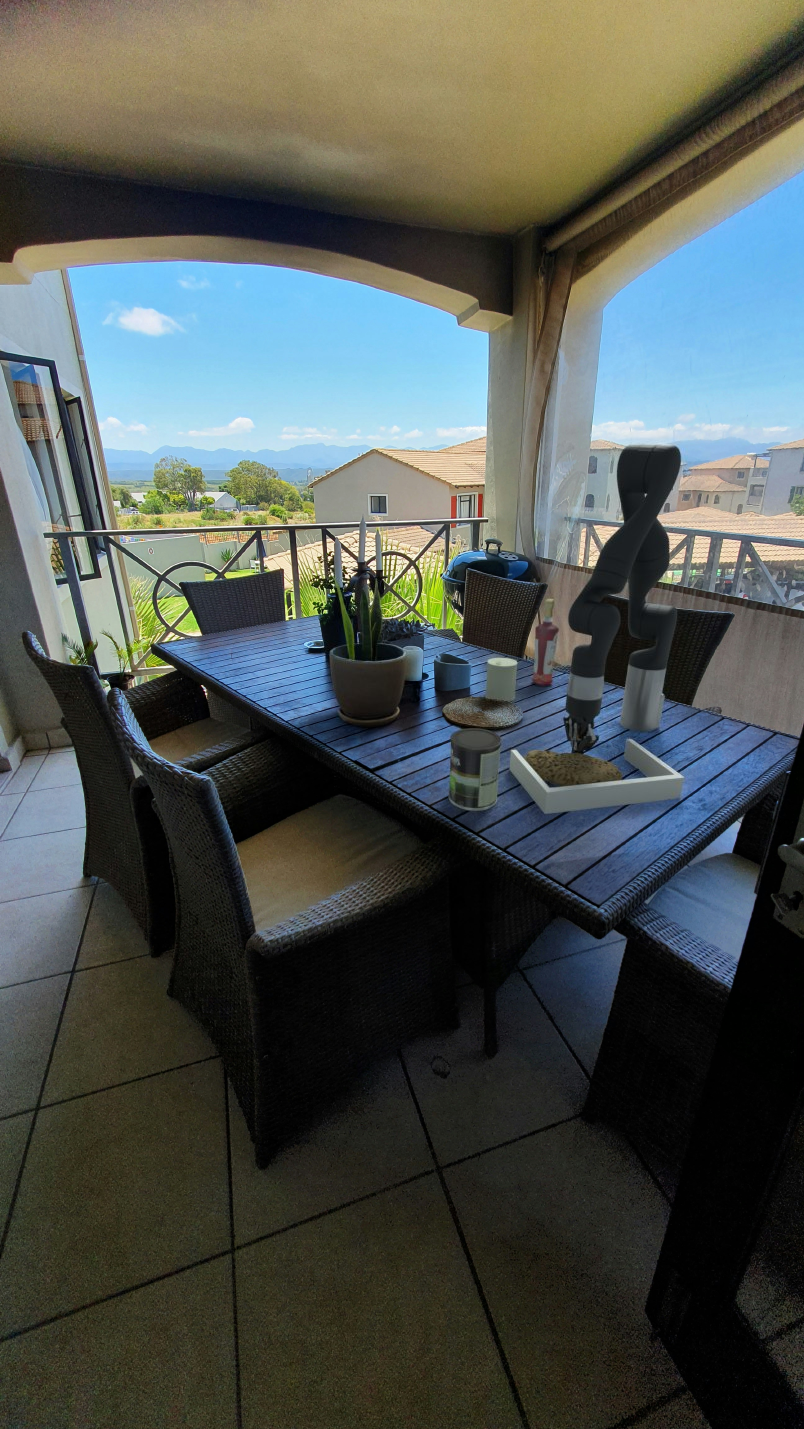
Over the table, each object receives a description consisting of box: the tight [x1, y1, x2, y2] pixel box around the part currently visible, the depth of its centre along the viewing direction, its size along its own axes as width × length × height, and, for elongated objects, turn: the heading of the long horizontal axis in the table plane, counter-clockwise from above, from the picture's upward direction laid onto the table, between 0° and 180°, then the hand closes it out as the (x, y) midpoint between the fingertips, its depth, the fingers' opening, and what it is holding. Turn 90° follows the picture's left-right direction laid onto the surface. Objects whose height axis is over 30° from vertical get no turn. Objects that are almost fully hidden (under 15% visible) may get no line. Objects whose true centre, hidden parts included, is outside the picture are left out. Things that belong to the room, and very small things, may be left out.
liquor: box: [531, 598, 560, 687], centre depth 181 cm, size 7×7×28 cm
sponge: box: [522, 749, 624, 787], centre depth 123 cm, size 13×8×20 cm
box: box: [509, 738, 685, 815], centre depth 123 cm, size 30×20×5 cm, turn 101°
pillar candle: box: [484, 657, 518, 703], centre depth 173 cm, size 9×9×12 cm
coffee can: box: [448, 727, 502, 812], centre depth 116 cm, size 10×10×14 cm
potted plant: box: [329, 573, 408, 728], centre depth 154 cm, size 21×22×40 cm
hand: (576, 762), depth 130 cm, fingers closed
